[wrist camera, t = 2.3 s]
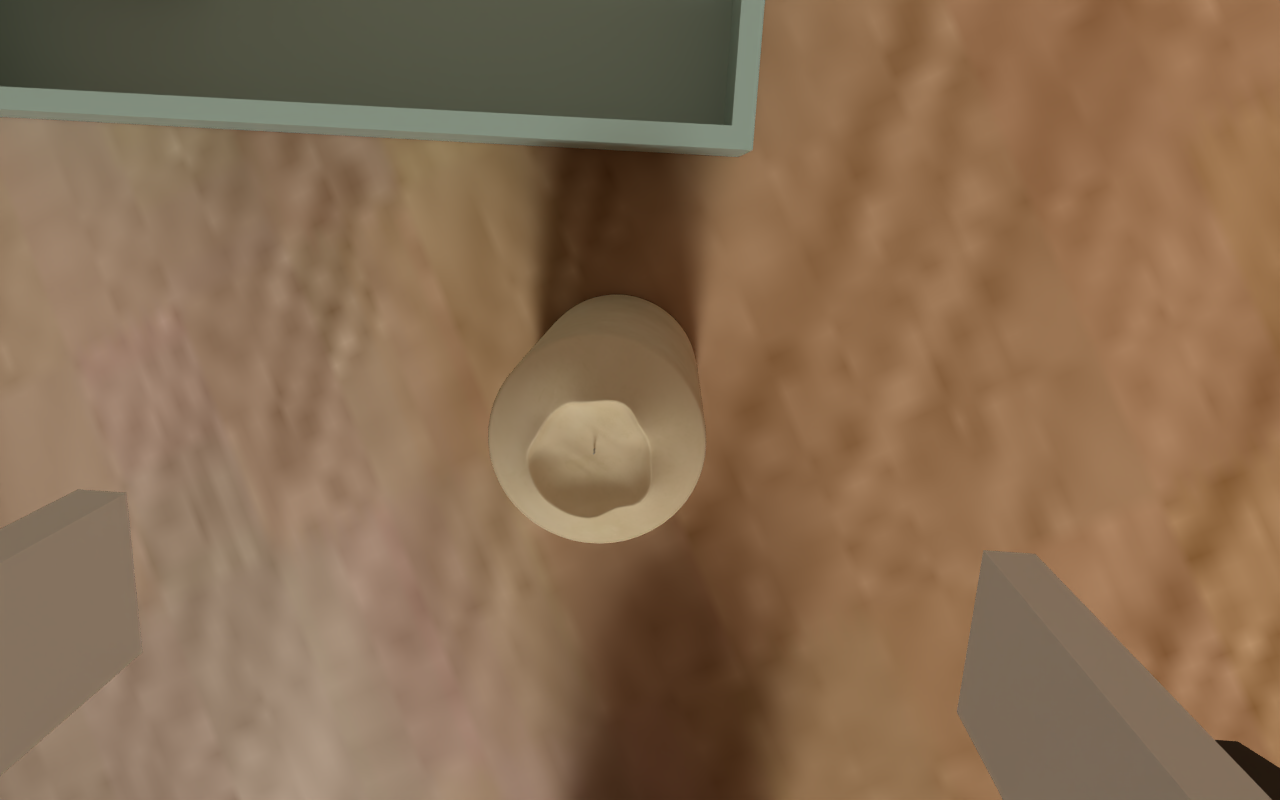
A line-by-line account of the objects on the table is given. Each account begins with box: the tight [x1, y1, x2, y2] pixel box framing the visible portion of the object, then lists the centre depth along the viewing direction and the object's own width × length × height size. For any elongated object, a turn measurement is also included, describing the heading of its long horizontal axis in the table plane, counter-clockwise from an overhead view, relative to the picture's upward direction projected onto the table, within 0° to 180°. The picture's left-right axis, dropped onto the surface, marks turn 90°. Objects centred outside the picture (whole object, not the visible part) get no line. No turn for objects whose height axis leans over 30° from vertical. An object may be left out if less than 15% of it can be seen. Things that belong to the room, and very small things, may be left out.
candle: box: [488, 294, 706, 543], centre depth 25 cm, size 6×6×10 cm
